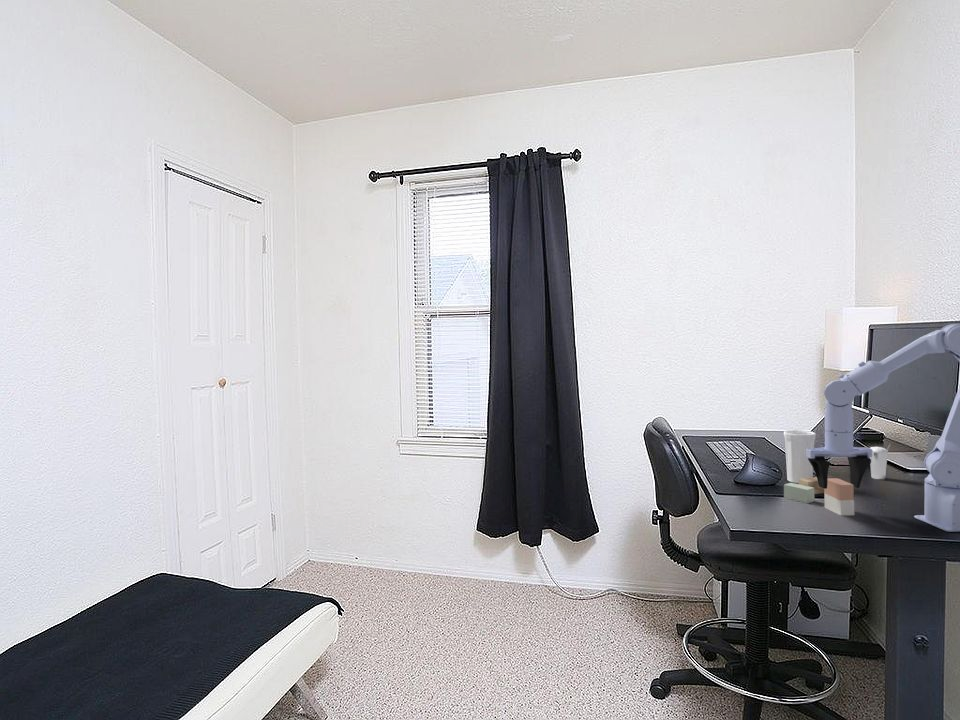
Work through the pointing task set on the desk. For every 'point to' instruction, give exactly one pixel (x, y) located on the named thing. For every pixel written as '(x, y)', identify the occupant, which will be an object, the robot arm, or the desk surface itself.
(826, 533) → the desk surface
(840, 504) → the cream brick
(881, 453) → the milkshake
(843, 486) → the terracotta brick
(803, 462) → the cup
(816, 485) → the oak brick
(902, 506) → the desk surface
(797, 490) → the sage brick
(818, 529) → the desk surface
